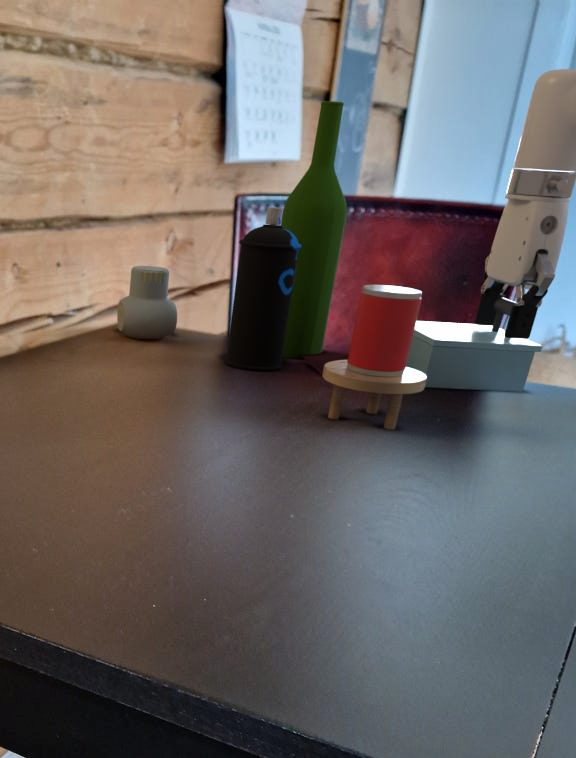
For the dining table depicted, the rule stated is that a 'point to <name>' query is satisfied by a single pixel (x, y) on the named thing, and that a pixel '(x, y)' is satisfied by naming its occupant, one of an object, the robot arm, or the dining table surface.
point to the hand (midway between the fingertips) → (500, 331)
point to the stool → (372, 388)
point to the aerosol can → (262, 296)
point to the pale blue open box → (470, 367)
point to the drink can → (383, 330)
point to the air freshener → (147, 305)
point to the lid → (474, 333)
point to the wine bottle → (315, 238)
